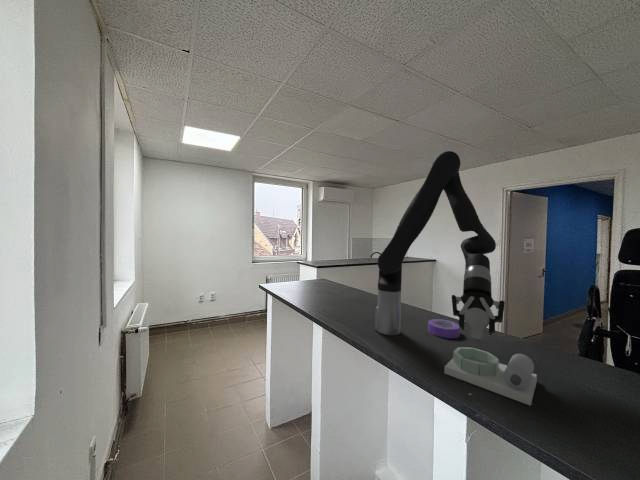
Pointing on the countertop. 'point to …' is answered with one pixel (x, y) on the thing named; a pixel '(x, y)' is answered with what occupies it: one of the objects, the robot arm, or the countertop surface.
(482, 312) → the lightbulb
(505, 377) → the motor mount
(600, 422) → the countertop surface
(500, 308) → the robot arm
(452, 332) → the masking tape
